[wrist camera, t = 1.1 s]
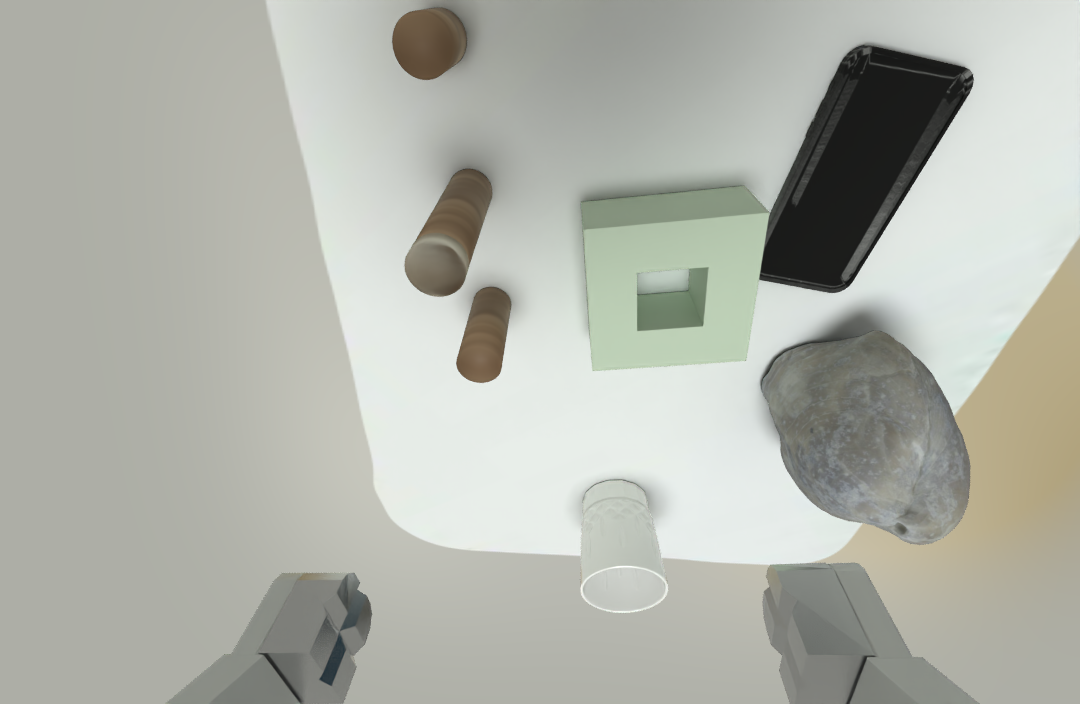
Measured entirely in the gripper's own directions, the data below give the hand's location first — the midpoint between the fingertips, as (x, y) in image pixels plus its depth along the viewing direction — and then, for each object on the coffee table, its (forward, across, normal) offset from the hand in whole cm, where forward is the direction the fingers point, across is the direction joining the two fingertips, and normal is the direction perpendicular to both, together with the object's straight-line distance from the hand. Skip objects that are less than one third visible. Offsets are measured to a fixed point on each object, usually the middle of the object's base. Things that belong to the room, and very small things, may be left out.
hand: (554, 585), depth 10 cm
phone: (+30, -18, +1) cm, 35 cm away
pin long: (+29, +7, -1) cm, 30 cm away
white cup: (+32, -1, +33) cm, 46 cm away
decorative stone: (+31, -20, +18) cm, 41 cm away
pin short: (+28, +7, -10) cm, 31 cm away
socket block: (+30, -6, +6) cm, 31 cm away
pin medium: (+30, +7, +8) cm, 31 cm away
